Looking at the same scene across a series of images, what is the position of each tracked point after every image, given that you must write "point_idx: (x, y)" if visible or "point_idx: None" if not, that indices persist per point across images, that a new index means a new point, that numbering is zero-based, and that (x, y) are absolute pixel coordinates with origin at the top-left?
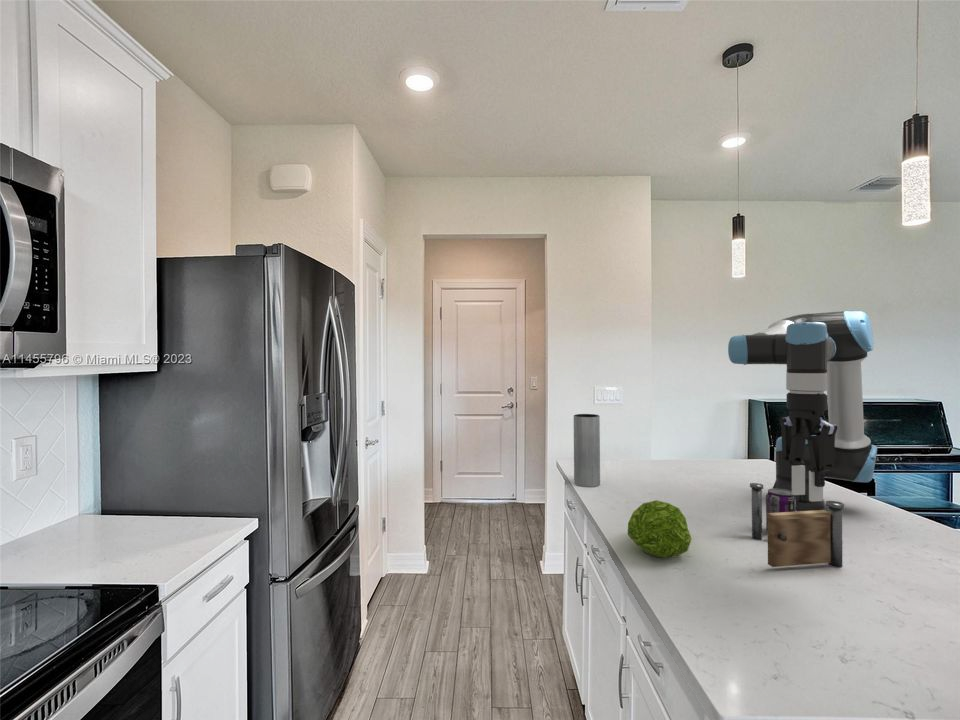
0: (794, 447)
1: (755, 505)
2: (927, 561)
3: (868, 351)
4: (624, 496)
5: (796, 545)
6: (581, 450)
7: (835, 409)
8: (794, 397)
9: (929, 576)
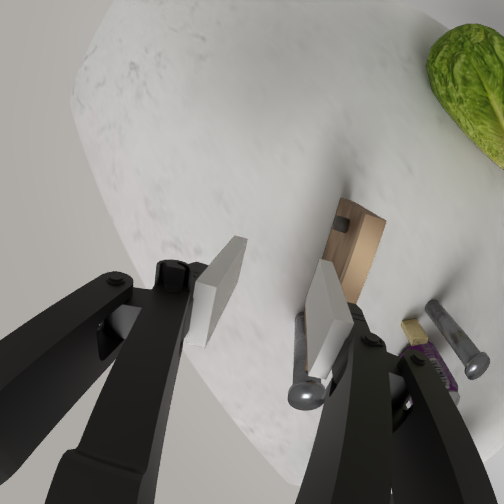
0: (351, 418)
1: (459, 334)
2: (253, 418)
3: None
4: None
5: (330, 258)
6: None
7: None
8: None
9: (224, 382)
